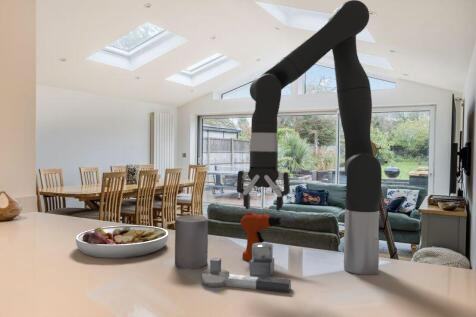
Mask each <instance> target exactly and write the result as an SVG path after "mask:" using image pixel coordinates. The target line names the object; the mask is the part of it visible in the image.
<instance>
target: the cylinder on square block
mask: <svg viewBox="0 0 476 317" xmlns="http://www.w3.org/2000/svg"><path fill="white" fill-rule="evenodd" d="M273 246H274V245H273V244H272V243H269V242H262V243H254V244H252V260H251V261H249V276H252V277H259V276H262V277H273V275H274V273H275V257H274V256H273V254H274V247H273Z"/></svg>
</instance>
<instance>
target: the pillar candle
mask: <svg viewBox="0 0 476 317" xmlns="http://www.w3.org/2000/svg"><path fill="white" fill-rule="evenodd" d="M174 225H175V227H174V229H175V230H174V265H175V266H176V267H177V268H180V269H186V268H188V269H189V270H190V269H191V268H192V269H193V268H194V269H200V268H203V267H205V266H207V265H208V256H209V254H208V252H209V251H208V249H209V248H208V247H209V246H208V245H209V235H208V234H209V233H208V232H209V230H208V228H209V217H207V216H205V215H201V214H200V215H199V214H193V213H191V214H187V215H186V214H185V215H180V216H176V217H175V222H174Z"/></svg>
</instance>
